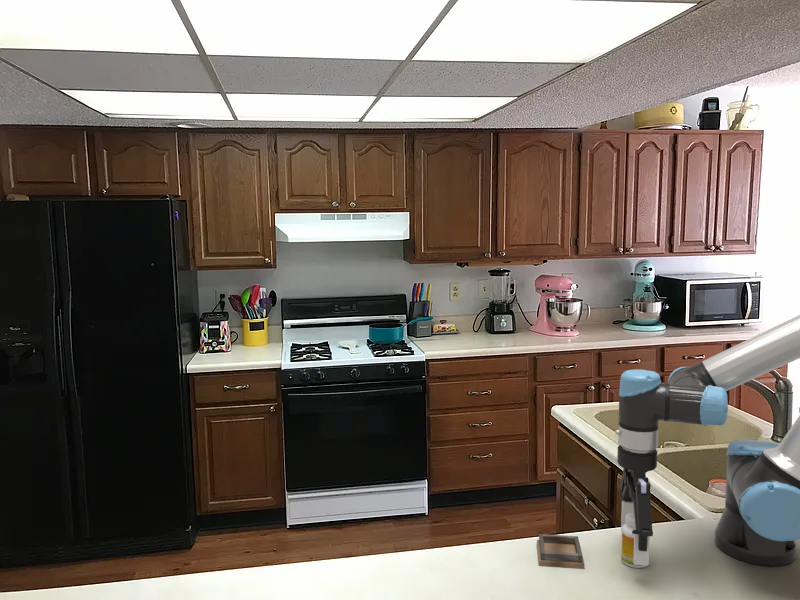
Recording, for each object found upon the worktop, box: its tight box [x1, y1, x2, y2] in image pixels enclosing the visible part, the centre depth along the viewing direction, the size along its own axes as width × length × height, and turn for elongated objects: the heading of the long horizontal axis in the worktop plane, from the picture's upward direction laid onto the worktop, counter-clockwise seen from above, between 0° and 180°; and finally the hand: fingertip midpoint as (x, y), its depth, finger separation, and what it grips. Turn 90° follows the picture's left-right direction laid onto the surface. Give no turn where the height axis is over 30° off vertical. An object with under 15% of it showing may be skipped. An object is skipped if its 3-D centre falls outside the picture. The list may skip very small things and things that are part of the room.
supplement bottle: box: [620, 513, 648, 569], centre depth 130 cm, size 5×5×10 cm
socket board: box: [536, 533, 585, 569], centre depth 133 cm, size 9×9×2 cm
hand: (633, 546), depth 130 cm, fingers open, 13 cm apart
